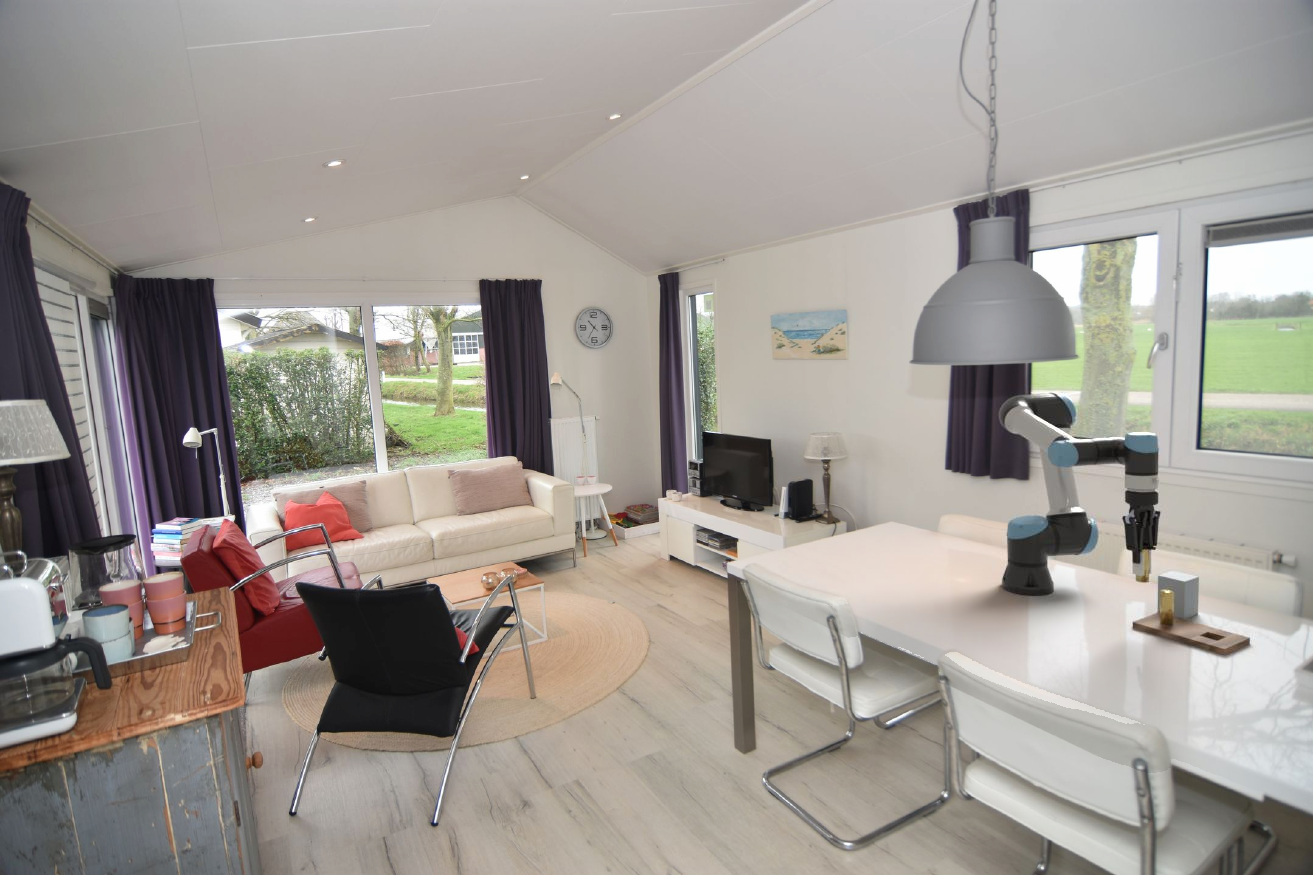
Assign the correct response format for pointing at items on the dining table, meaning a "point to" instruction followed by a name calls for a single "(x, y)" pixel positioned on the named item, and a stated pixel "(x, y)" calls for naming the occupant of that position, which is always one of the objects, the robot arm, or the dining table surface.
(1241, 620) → the dining table surface
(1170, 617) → the pin
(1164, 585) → the block
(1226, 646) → the board
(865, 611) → the dining table surface
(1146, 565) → the pin
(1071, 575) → the dining table surface
